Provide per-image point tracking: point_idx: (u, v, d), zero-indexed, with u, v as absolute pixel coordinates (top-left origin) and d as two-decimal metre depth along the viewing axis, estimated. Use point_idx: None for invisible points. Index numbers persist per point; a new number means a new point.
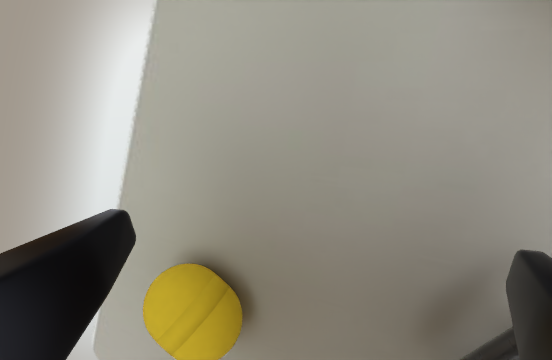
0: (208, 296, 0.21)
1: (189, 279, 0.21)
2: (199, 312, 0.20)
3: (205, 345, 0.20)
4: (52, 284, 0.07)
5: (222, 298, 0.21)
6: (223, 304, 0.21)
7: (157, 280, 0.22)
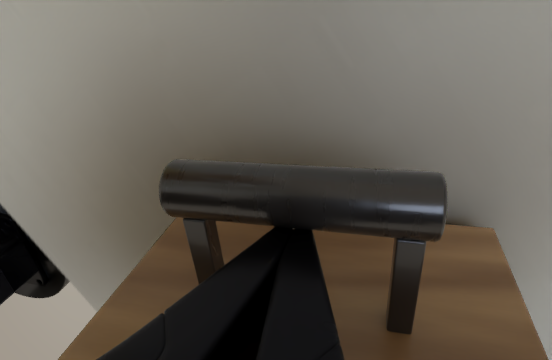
0: None
1: None
2: None
3: None
4: (257, 319, 0.06)
5: None
6: None
7: None
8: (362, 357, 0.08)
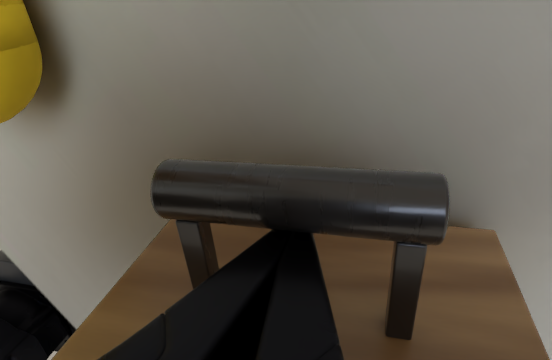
0: None
1: None
2: None
3: None
4: (258, 319, 0.06)
5: (0, 52, 0.11)
6: None
7: None
8: None
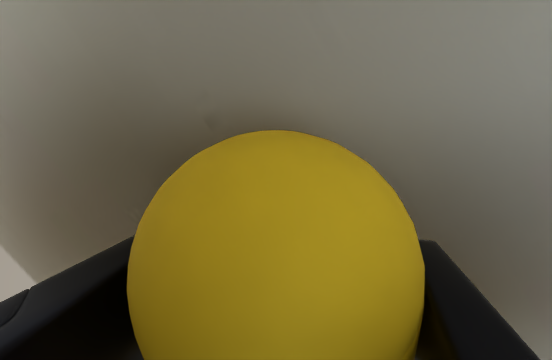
0: None
1: (412, 270, 0.05)
2: None
3: None
4: None
5: None
6: None
7: (297, 184, 0.05)
8: None
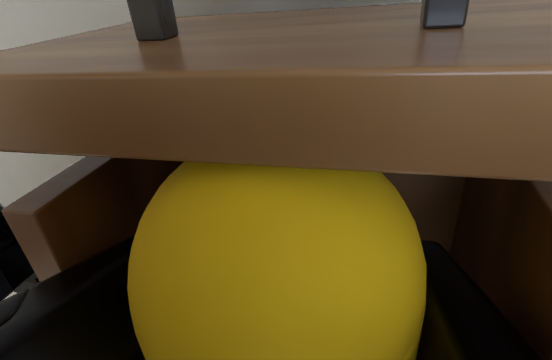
0: None
1: (414, 269, 0.05)
2: None
3: None
4: None
5: None
6: None
7: (298, 181, 0.05)
8: (385, 40, 0.05)
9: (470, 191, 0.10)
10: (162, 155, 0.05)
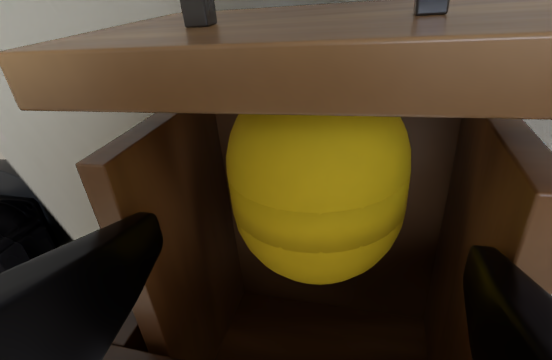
0: None
1: (402, 142, 0.09)
2: (380, 220, 0.09)
3: (340, 274, 0.09)
4: (86, 290, 0.07)
5: (405, 209, 0.10)
6: (402, 222, 0.10)
7: None
8: (386, 23, 0.06)
9: (459, 160, 0.11)
10: (218, 109, 0.06)
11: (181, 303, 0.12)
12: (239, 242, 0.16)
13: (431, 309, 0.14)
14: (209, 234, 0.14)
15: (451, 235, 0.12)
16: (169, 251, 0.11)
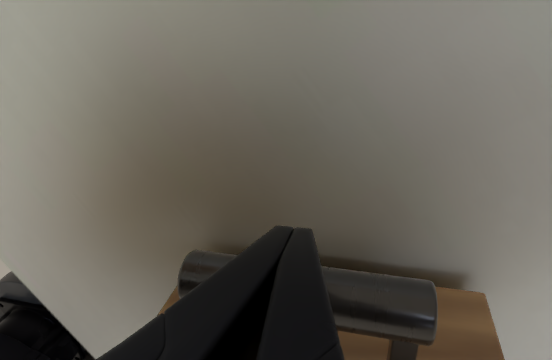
0: None
1: None
2: None
3: None
4: (257, 319, 0.06)
5: None
6: None
7: None
8: None
9: None
10: None
11: None
12: None
13: None
14: None
15: None
16: None
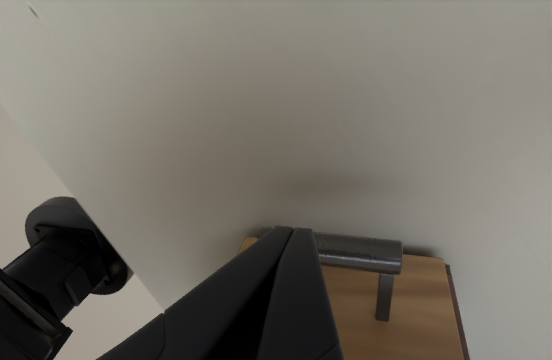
0: None
1: None
2: None
3: None
4: (257, 319, 0.06)
5: None
6: None
7: None
8: (362, 333, 0.16)
9: None
10: None
11: None
12: None
13: None
14: None
15: None
16: None
